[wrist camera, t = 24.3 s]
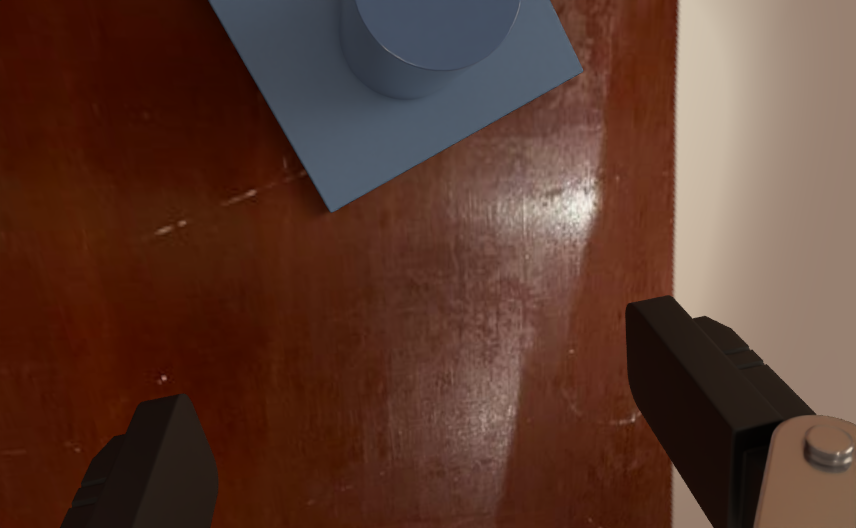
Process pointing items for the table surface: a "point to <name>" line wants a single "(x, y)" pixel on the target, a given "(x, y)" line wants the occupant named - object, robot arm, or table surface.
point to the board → (374, 113)
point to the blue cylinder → (420, 41)
